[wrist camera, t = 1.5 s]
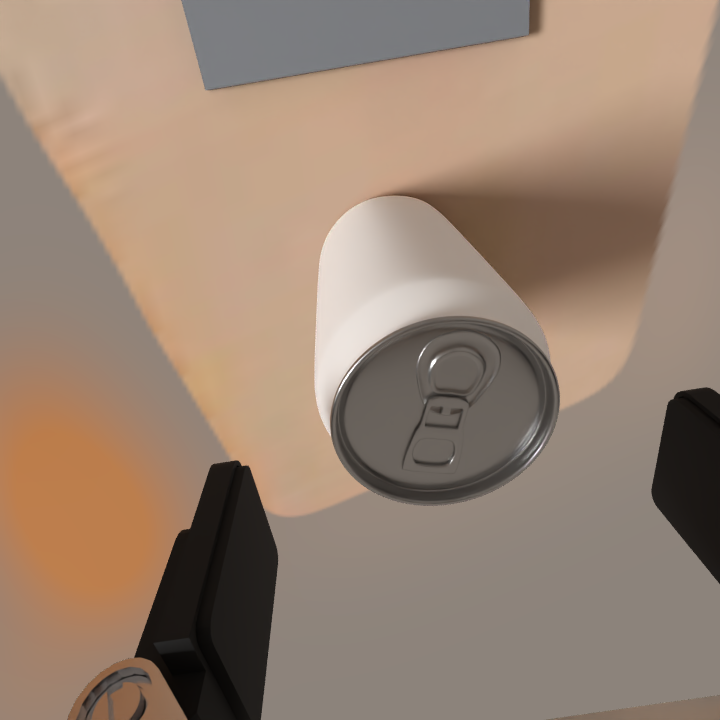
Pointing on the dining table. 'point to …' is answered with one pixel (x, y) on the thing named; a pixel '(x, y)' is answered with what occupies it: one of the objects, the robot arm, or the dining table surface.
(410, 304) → the can
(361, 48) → the mat
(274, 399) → the dining table surface
